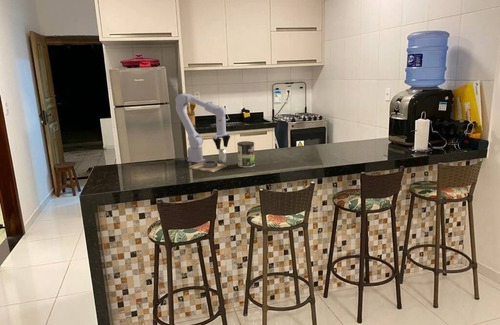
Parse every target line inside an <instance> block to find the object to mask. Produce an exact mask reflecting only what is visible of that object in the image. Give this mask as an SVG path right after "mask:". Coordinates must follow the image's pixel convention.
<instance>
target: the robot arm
mask: <svg viewBox="0 0 500 325" xmlns="http://www.w3.org/2000/svg"><path fill="white" fill-rule="evenodd" d="M174 102H175V112H176V113H177V115H178V117H179V119H180V121H181V124H182V125H183V128H184V130H185V131H186V133H187V136H188V137H187V140H188V142H189V143H188V145H189V147H188V148H187V152H186V153H187V160H186V161H187V162H189V163H190V162H191V163H195V164H198V163H201V162H205V161H207V159H205V158H204V156H203V143H204V139H203V137H202V136H201V135H200V134H199V132H197V131H196V128H195V127H194V125H193V123H192V121H191V119H190V116H189V115H188V112H187V111H186V107H187V106H188V105H189V104H190V103H192V104H195V105H198V106H200V107H202V108H204V111H206V112H208V113H211V114H212V115H214V116H215V120H216V122H215V123H216V133H215V134H214V135H213V136H212V140H213V142H214V144H215V148H216V150H218V151H219V150H220V149H221V143H222V142H223V147H224V148H228V144H229V140H230V138H231V135H230V134H231V133H230V131H227V128H226V127H227V125H226V124H227V123H226V121H227V120H226V114H227V110H226V108H225V107H223V106H220V105H216V104H215V103H213V102H212V101H207V102H206V101H204V100H203V99H200V98H198V97H196V96H195V95H193V94H192V93H191V94H190V93H188V92H183V93H178V94H177V95H176V96H175V99H174Z"/></svg>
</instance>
